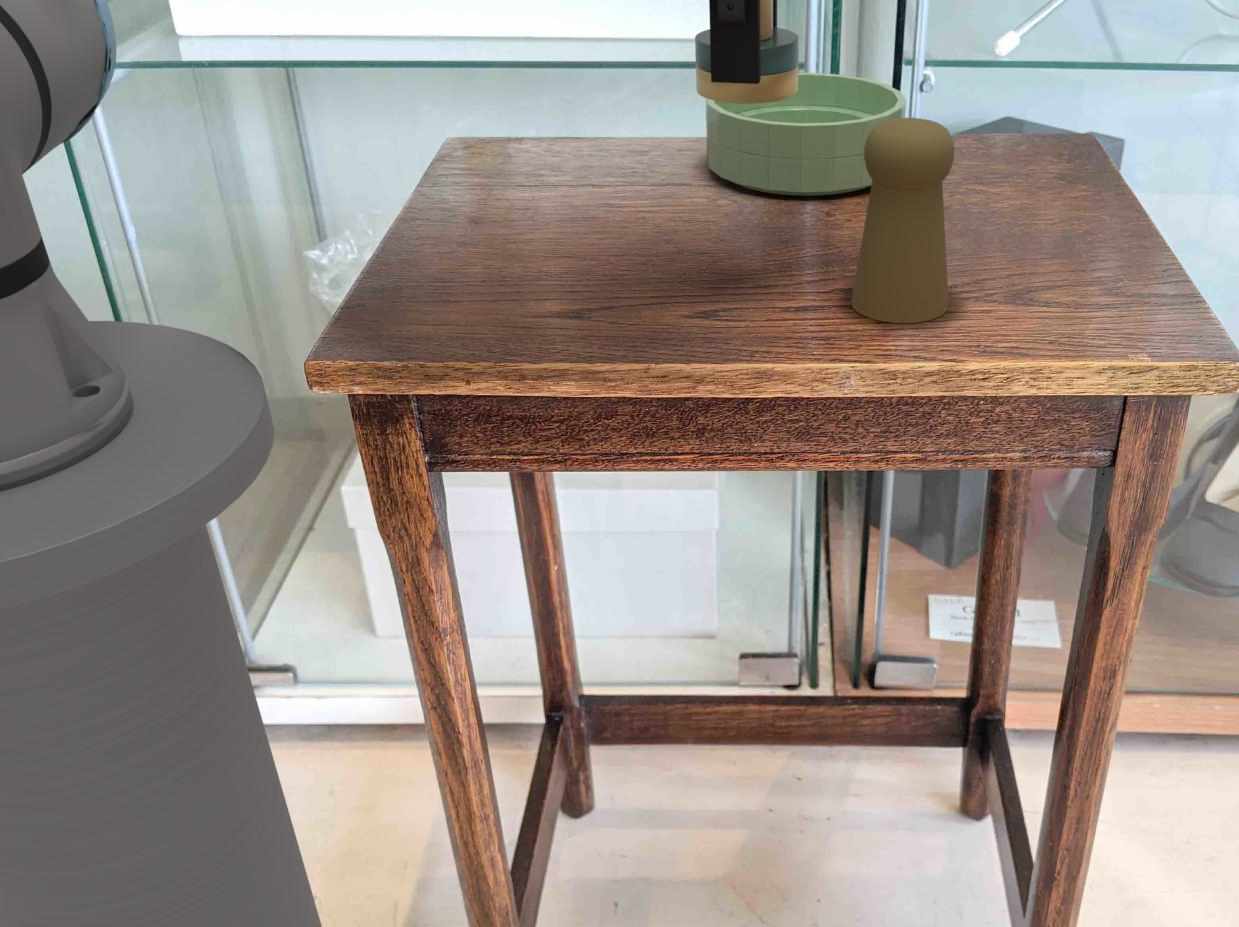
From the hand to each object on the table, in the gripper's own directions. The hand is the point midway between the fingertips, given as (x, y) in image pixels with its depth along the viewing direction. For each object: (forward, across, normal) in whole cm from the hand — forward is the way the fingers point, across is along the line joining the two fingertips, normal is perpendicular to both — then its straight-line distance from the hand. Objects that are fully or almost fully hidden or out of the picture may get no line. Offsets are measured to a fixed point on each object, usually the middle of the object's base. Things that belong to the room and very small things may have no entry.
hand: (745, 66), depth 76 cm
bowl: (+13, +24, -1) cm, 27 cm away
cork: (+13, -2, -10) cm, 17 cm away
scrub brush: (+1, 0, 0) cm, 1 cm away
